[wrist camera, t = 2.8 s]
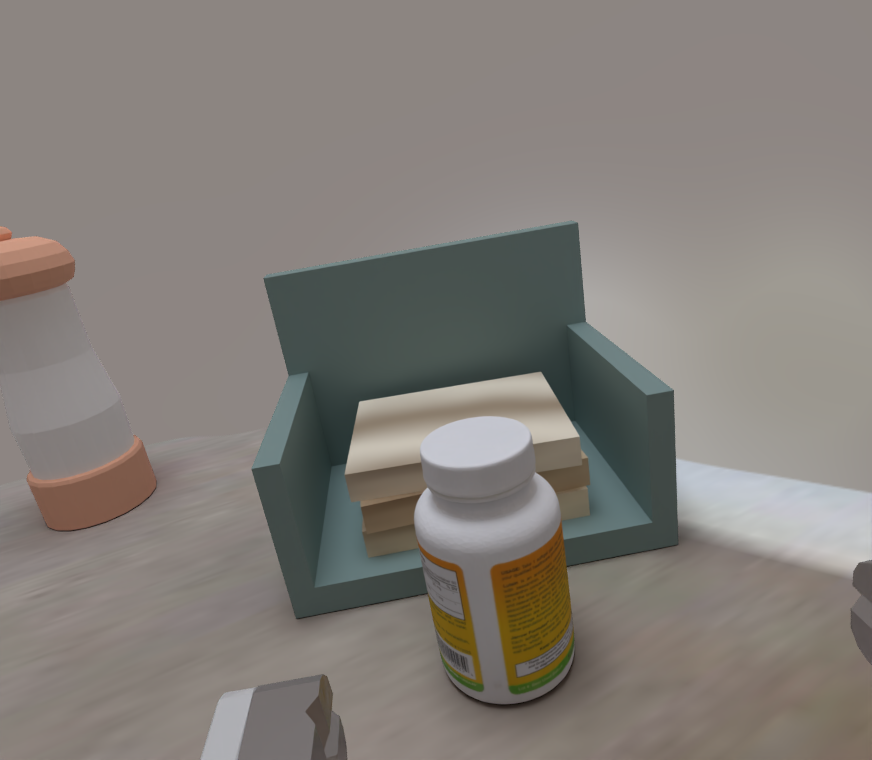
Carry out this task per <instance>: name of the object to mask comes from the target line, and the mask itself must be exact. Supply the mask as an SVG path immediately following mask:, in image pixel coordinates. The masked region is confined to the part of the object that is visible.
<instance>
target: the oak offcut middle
mask: <svg viewBox="0 0 872 760" xmlns="http://www.w3.org/2000/svg"><path fill="white" fill-rule="evenodd" d="M581 457H582V465H580V466H573V467H567V468H561V469H555V470H549V471H543V472H536V473H537V474H539V475H540V476H542V477H543V478H544V479H545V480H546V481H547V482H548V483H549V484H550V485H551V487H552V488H553V490H554V491H555V493H556V492H560V491H565V490H570V489H574V488H579V487H583V486H588V485H590V474H589V462H588V457H587V456H586V455H585V453H584V452H583V451H582V450H581ZM423 492H424V491H419V492H413V493H407V494H400V495H394V496H388V497H382V498H376V499H369V500H363V501H360V504H361V511H362V515H363V519H364V523H365V528H366V532H367V534H370V533H375V532H379V531H384V530H388V529H393V528H397V527H402V526H407V525H411V524H414V512H415V508H416V504H417V502H418V500H419V498H420V496H421V495H422V493H423Z"/></svg>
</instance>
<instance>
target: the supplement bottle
mask: <svg viewBox="0 0 872 760" xmlns="http://www.w3.org/2000/svg"><path fill="white" fill-rule="evenodd" d="M420 457H421V464H422V470H423V478H424V480H425V482H426V484H427V489H426V490H425V491H424V492H423V493H422V495H421V496H420V498H419V500H418V502H417V504H416V508H415V512H414V525H415V531H416V538H417V542H418V547H419V552H420V557H421V562H422V566H423V572H424V577H425V582H426V587H427V592H428V597H429V602H430V607H431V611H432V616H433V621H434V626H435V631H436V636H437V641H438V645H439V650H440V654H441V658H442V662H443V665H444V668H445V670H446V672H447V674H448V676H449V678H450V679H451V680H452V682H453V683H454V684H455V685H456V686H457V687H458V688H459V689H460V690H461V691H463V692H464V693H466V694H467V695H469V696H471V697H473V698H475V699H478V700H480V701H483V702H488V703H495V704H515V703H520V702H525V701H529V700H532V699H534V698H537V697H539V696H541V695H543V694H545V693H547V692H548V691H550V690H551V689H553V688H554V687H555V686H557V685H558V684H559V683H560V682H561V681H562V680H563V678H564V677H565V676H566V674H567V673H568V671H569V669H570V666H571V664H572V661H573V657H574V651H575V644H574V630H573V619H572V611H571V603H570V594H569V584H568V575H567V565H566V556H565V547H564V538H563V529H562V520H561V512H560V506H559V501H558V498H557V496H556V493H555V491H554V490H553V488H552V487H551V485H550V484H549V483H548V482H547V481H546V480H545V479H544V478H543V477H542V476H540V475H539V474H537V473H536V472H535V463H536V462H535V453H534V447H533V440H532V435H531V432H530V430H529V429H528V427H527V426H525V425H524V424H523V423H521V422H519V421H517V420H514V419H510V418H505V417H496V416H482V417H474V418H467V419H462V420H458V421H455V422H452V423H449V424H446V425H444V426H442V427H439V428H438V429H436V430H434V431H433V432H431V433H430V434H429V435H427V436H426V437H425V439H424V440H423V441H422V443H421V446H420Z"/></svg>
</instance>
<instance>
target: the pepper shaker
mask: <svg viewBox="0 0 872 760" xmlns="http://www.w3.org/2000/svg"><path fill="white" fill-rule="evenodd" d="M11 234H12V232H11V231H10V230H9V229H7V228H6V227H2V226H0V387H1V392H2V396H3V400H4V404H5V409H6V413H7V417H8V422H9V426H10V429H11V431H12V433H13V436H14V438H15V440H16V442H17V444H18V446H19V448H20V450H21V452H22V454H23V456H24V458H25V460H26V462H27V464H28V467H29V469H30V472H29V473H28V475H27V482H28V484H29V486H30V488H31V491H32V493H33V495H34V497H35V500H36V502H37V504H38V506H39V509H40V511H41V513H42V515H43V518H44V520H45V522H46V524H47V526H48V527H49V528H52V529H54V530H76V529H81V528H87V527H90V526H93V525H97V524H100V523H103V522H106V521H108V520H111V519H113V518H115V517H117V516H120V515H122V514H124V513H126V512H128V511H129V510H131V509H133V508H134V507H136V506H138V505H139V504H141V503H142V502H143V501H144V500H145V499H146V498H148V497H149V496H150V495H151V494H152V492H153V491H154V489H155V488H156V478H155V475H154V473H153V470H152V467H151V464H150V462H149V459H148V456H147V453H146V451H145V448H144V445H143V442H142V441H141V440H140V439H139V438H138V437H137V436H136V435H133V433H132V430H131V427H130V424H129V421H128V418H127V415H126V412H125V409H124V406H123V403H122V400H121V397H120V394H119V392H118V391H117V389H116V387H115V386H114V384H113V382H112V380H111V379H110V377H109V375H108V374H107V372H106V370H105V368H104V366H103V365H102V363H101V361H100V359H99V358H98V356H97V354H96V353H95V351H94V349H93V347H92V345H91V343H90V340H89V338H88V335H87V332H86V330H85V327H84V324H83V322H82V319H81V316H80V314H79V312H78V309H77V306H76V303H75V301H74V298H73V296H72V293H71V291H70V288H69V286H68V285H67V284H66V282H67V281H69V280H70V279H72V278H73V277H74V272H75V260H74V259H73V257H72V256H71V255H70V253H69V251H68V250H67V249H66V248H64V247H63V246H62V245H61V244H59V243H58V242H57V241H55V240H50V239H46V238H41V237H37V236H34V237H24V238H15V239H11Z"/></svg>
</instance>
